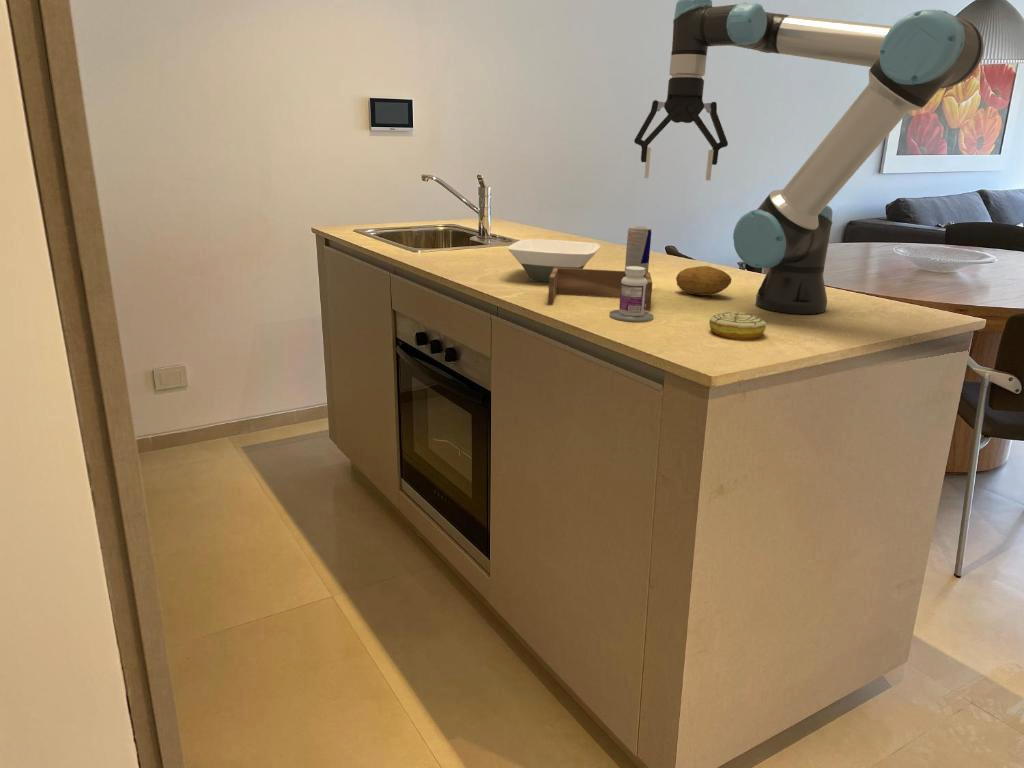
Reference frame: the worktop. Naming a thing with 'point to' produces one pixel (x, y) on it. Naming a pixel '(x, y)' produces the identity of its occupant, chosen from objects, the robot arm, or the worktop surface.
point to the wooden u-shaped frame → (590, 283)
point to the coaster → (646, 317)
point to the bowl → (551, 256)
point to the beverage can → (638, 247)
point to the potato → (703, 280)
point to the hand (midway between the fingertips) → (676, 179)
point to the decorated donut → (737, 325)
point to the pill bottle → (633, 292)
